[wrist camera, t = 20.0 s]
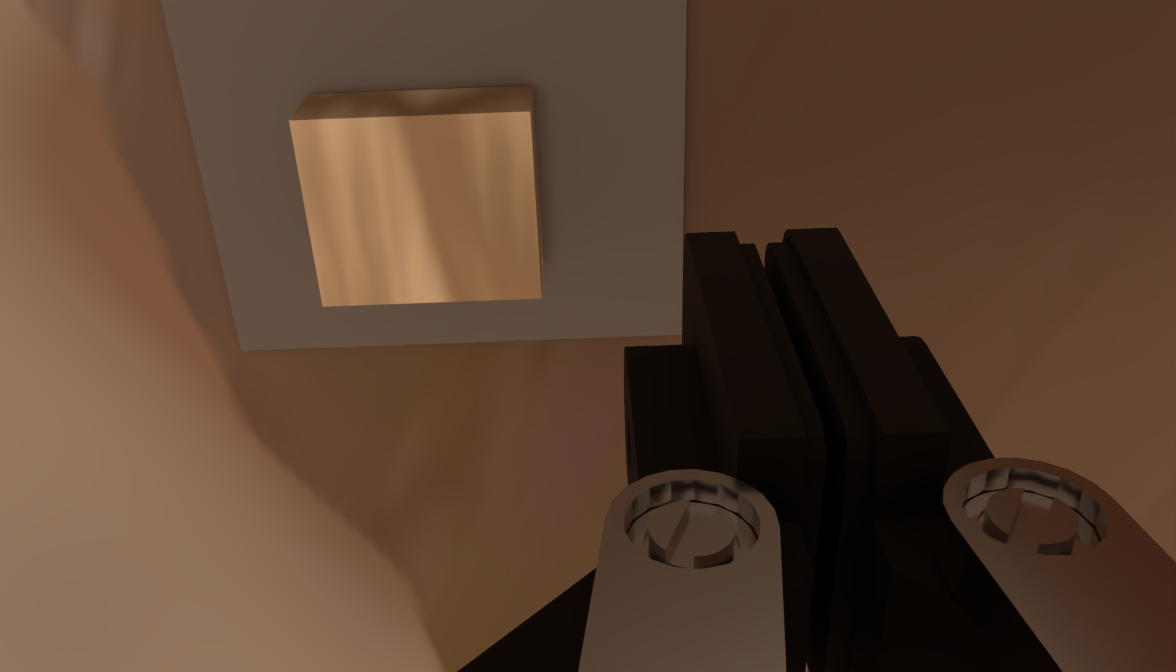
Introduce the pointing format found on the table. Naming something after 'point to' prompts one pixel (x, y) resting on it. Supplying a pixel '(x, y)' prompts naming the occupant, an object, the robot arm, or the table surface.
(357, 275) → the birch tile
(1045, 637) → the robot arm
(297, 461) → the table surface
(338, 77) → the rubber mat
